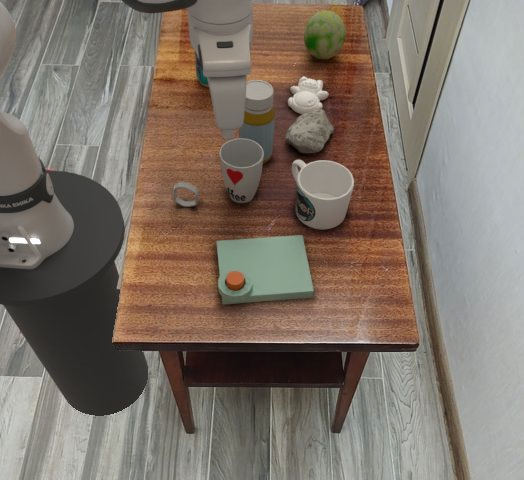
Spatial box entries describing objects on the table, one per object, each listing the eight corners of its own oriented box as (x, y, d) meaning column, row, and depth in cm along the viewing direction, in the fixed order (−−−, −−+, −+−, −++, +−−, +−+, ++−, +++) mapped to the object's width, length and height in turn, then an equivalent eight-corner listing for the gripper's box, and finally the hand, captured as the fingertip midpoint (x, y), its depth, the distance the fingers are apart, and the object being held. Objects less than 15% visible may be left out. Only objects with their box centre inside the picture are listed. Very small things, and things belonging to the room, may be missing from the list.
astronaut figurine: (332, 88, 127) (334, 75, 124) (317, 118, 121) (319, 106, 119) (297, 79, 128) (298, 66, 126) (280, 109, 123) (281, 97, 120)
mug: (358, 212, 107) (366, 180, 100) (322, 240, 103) (327, 209, 96) (308, 177, 112) (312, 144, 105) (272, 202, 108) (274, 170, 101)
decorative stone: (337, 158, 115) (341, 138, 111) (286, 159, 114) (287, 139, 110) (330, 120, 121) (333, 100, 117) (282, 121, 121) (283, 100, 116)
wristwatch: (176, 197, 108) (173, 178, 104) (201, 201, 108) (199, 181, 103) (172, 208, 106) (169, 188, 102) (197, 211, 106) (195, 192, 102)
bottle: (277, 150, 116) (281, 84, 103) (263, 170, 112) (266, 105, 100) (248, 140, 117) (248, 74, 104) (233, 160, 114) (232, 94, 101)
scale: (220, 309, 95) (219, 297, 92) (214, 247, 102) (213, 234, 99) (313, 301, 96) (315, 289, 93) (301, 241, 103) (303, 228, 100)
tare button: (227, 291, 93) (227, 285, 91) (225, 277, 94) (225, 271, 93) (244, 289, 93) (244, 284, 92) (243, 275, 95) (243, 270, 93)
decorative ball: (343, 46, 136) (350, 4, 127) (340, 70, 131) (347, 27, 122) (303, 42, 136) (307, -1, 128) (299, 65, 131) (303, 23, 123)
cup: (213, 191, 109) (210, 150, 100) (244, 173, 112) (244, 132, 103) (238, 214, 106) (238, 174, 97) (270, 196, 109) (272, 155, 100)
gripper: (192, -11, 80) (200, 78, 92) (203, 73, 70) (210, 161, 82) (235, -13, 81) (237, 75, 92) (252, 70, 70) (252, 157, 82)
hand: (224, 116), depth 87 cm, fingers open, 8 cm apart
